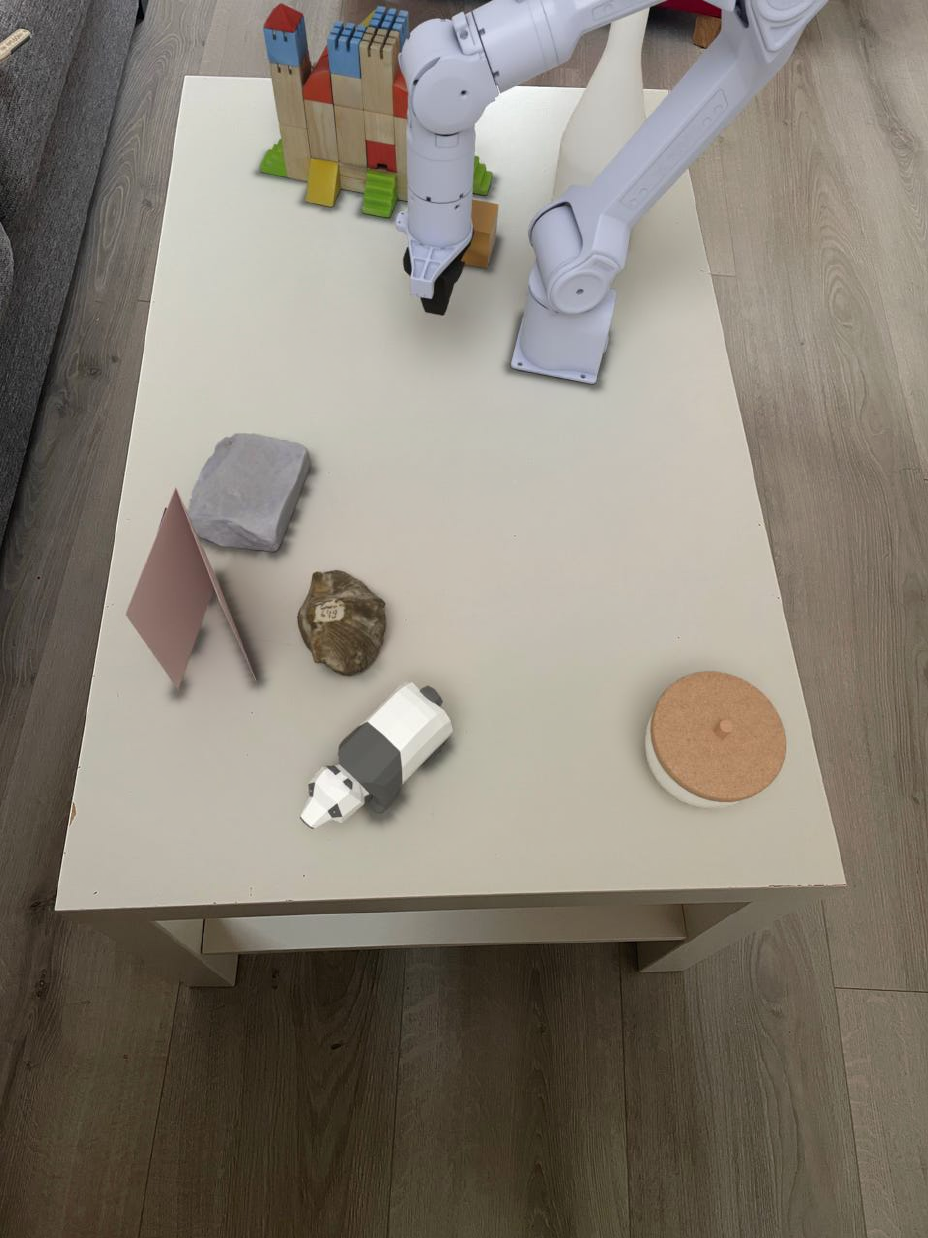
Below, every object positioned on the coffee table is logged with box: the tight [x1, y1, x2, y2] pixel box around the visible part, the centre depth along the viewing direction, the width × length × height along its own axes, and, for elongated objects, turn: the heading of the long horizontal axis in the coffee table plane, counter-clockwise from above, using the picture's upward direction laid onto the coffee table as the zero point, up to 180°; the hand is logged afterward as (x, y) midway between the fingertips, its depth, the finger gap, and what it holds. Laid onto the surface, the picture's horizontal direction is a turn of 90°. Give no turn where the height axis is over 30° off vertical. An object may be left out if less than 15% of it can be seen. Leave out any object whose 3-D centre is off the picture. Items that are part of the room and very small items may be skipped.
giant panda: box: [299, 681, 454, 830], centre depth 68 cm, size 15×6×10 cm, turn 138°
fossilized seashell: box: [296, 569, 387, 677], centre depth 76 cm, size 8×7×10 cm
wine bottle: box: [550, 7, 651, 203], centre depth 90 cm, size 10×10×30 cm
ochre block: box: [461, 198, 500, 269], centre depth 99 cm, size 5×5×5 cm
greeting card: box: [124, 486, 258, 691], centre depth 71 cm, size 11×7×15 cm, turn 170°
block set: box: [259, 3, 493, 218], centre depth 98 cm, size 28×14×19 cm, turn 77°
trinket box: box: [644, 670, 787, 809], centre depth 70 cm, size 11×11×9 cm
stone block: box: [186, 432, 311, 553], centre depth 83 cm, size 12×5×10 cm
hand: (437, 302), depth 86 cm, fingers closed
